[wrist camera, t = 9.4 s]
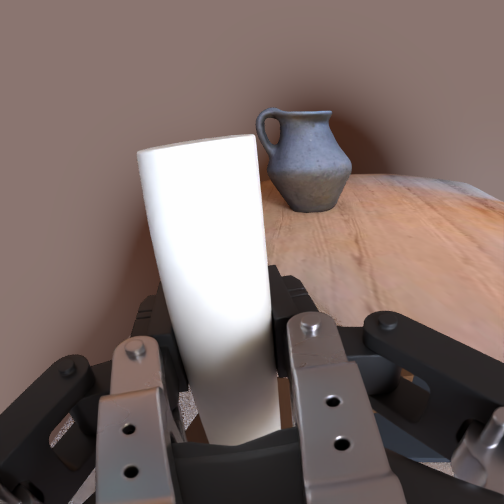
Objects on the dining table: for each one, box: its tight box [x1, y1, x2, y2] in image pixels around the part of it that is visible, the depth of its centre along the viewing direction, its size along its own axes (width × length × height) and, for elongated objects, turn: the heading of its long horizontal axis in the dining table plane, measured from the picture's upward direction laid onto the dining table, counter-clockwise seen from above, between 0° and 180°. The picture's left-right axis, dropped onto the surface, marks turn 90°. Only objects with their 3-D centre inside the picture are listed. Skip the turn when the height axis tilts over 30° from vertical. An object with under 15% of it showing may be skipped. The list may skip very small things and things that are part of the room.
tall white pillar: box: [137, 134, 293, 446], centre depth 10 cm, size 8×5×14 cm, turn 158°
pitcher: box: [256, 108, 352, 213], centre depth 74 cm, size 21×22×25 cm
